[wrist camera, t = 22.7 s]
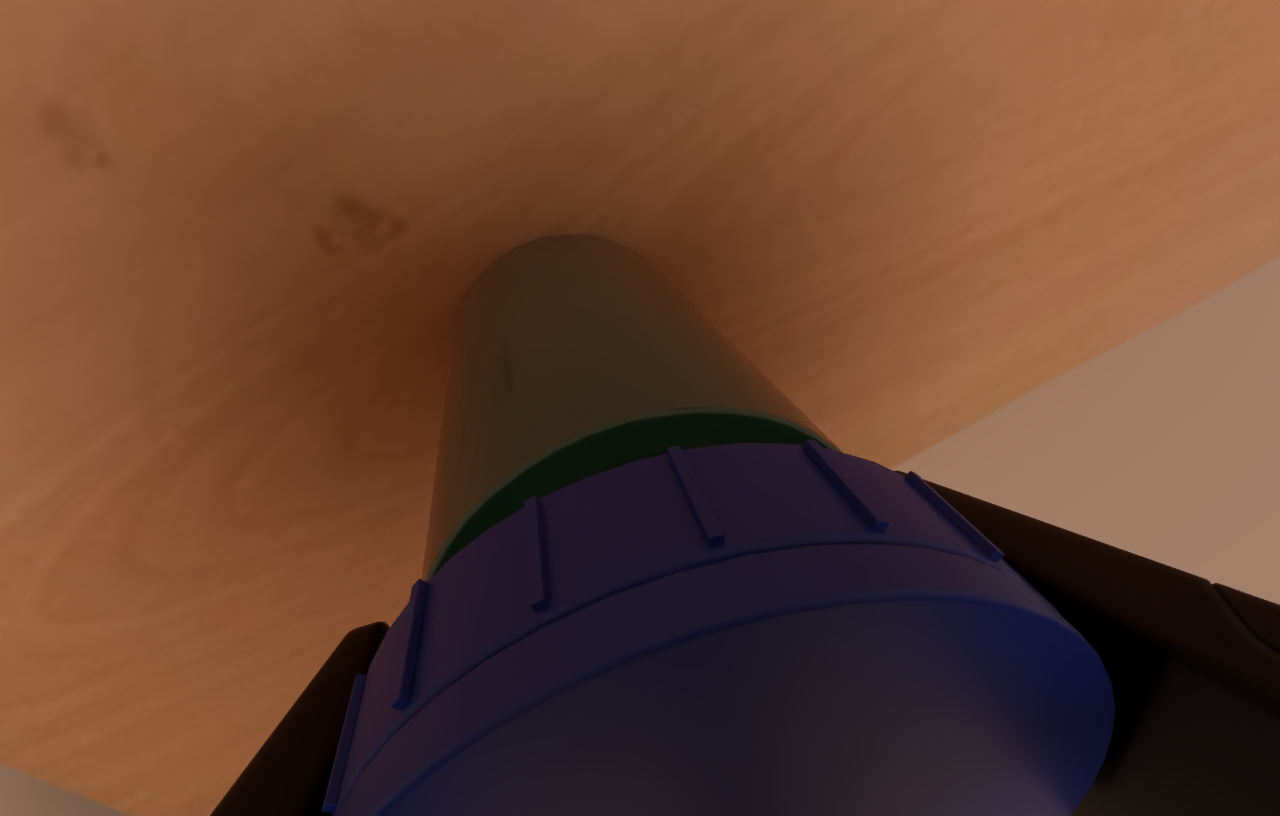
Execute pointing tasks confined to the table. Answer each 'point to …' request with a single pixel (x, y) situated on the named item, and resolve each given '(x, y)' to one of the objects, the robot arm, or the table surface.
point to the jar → (583, 384)
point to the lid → (727, 657)
